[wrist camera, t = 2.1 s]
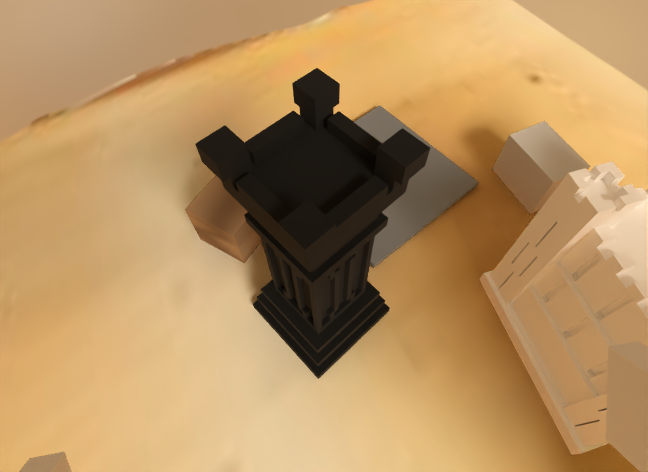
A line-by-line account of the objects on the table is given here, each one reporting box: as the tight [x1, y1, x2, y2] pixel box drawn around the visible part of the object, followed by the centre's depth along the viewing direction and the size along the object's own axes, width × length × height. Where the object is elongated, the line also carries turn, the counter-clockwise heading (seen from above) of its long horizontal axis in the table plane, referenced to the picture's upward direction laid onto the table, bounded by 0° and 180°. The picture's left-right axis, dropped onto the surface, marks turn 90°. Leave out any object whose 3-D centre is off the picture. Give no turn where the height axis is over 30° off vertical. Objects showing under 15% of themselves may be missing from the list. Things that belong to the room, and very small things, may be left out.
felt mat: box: [354, 106, 479, 268], centre depth 42 cm, size 14×14×1 cm
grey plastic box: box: [492, 121, 590, 214], centre depth 40 cm, size 6×4×5 cm, turn 25°
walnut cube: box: [185, 176, 262, 263], centre depth 37 cm, size 5×5×5 cm
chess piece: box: [195, 68, 430, 379], centre depth 27 cm, size 8×8×20 cm
